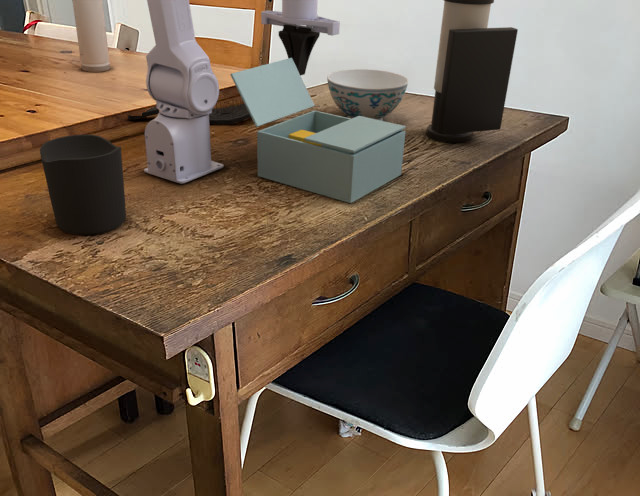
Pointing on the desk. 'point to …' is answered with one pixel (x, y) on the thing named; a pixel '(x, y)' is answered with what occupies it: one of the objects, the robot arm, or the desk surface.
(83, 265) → the desk surface
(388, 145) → the case
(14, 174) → the desk surface
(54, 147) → the pen holder
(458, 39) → the light fixture
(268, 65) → the flap
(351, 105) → the chinaware
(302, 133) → the yellow block with knob
